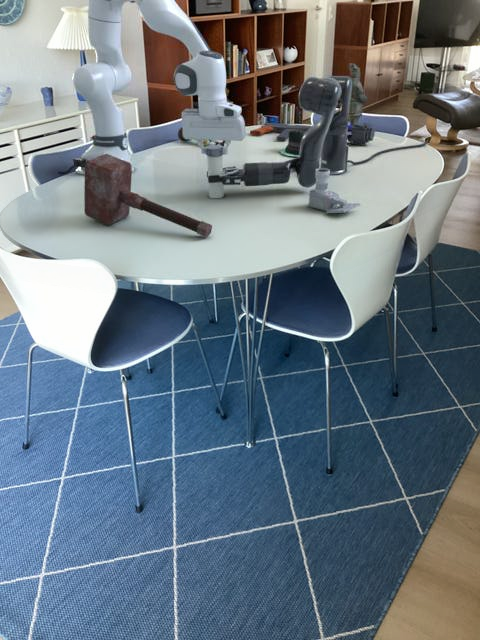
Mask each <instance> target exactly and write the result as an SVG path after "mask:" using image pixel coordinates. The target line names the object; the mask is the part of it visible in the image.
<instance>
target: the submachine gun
mask: <svg viewBox="0 0 480 640" xmlns="http://www.w3.org/2000/svg"><path fill="white" fill-rule="evenodd" d="M312 126H313V125H304V124H303V125H302V124H291V123H278V122H264V124H262V125H261V126H260V127H259V128H256V129H252V130H250V131H249V134H250V135H251V136H257V137H258V136H261V135H265V134H268V133H278V135H277V136H276V141H287V140H288V139H289V131H291V130H294V129H298V128H311V127H312Z"/></svg>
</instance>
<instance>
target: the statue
mask: <svg viewBox="0 0 480 640" xmlns="http://www.w3.org/2000/svg"><path fill="white" fill-rule="evenodd" d="M348 70H349V73H350V75H349V77H350V78H351V81H352V90H351V98H350V106H349V119H348V122H350V124H352V127H354V125H355V124H357V125H359V124H358V123H359V121H360V118H361V117H362V116H363V108H364V104H365V103H367V102H368V96H367V95H366V94H365V91H364V86H363V84H362V82H361V68H360V67H359V66H358V65H357V64H356V63H351V62H350V63H348Z"/></svg>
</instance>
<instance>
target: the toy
mask: <svg viewBox="0 0 480 640" xmlns="http://www.w3.org/2000/svg"><path fill="white" fill-rule="evenodd" d="M357 124H358V123H357ZM357 124H355V125H354V127H352V124H350V122H348V133H347V142H349V143H352V145H358V146H359V145H360V146H366V144H367V143H369V142H373V140H374V138H375V133H376V129H375V127H374V126H372V123H370V122H363V124H358V125H357Z"/></svg>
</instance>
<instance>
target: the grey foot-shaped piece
mask: <svg viewBox="0 0 480 640" xmlns="http://www.w3.org/2000/svg"><path fill="white" fill-rule="evenodd" d="M330 175H331V174H330V170H329V169H327V168H318V169H316V173H315V178H316V184H315V188H313V189H311V190H309V192H308V193H309V194H308V195H309V196H308V207H310V208H313V209H317V210H319V211H320V210H321V211H324V212H325V214H344V213H345V214H346V213H347V212H349V211H351V210H353V209H355V208H357V207H360V206H361V203H359V202H357V203H348V200H347V199H344V198H341V197H339V194H338V193H337V192H334V191H330V190H328V187H329V180H330Z"/></svg>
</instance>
